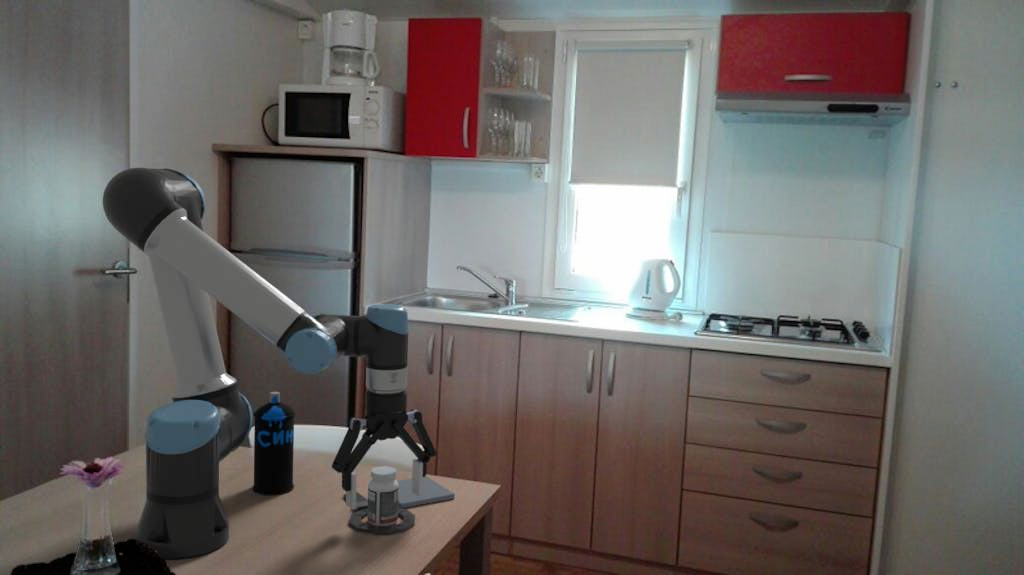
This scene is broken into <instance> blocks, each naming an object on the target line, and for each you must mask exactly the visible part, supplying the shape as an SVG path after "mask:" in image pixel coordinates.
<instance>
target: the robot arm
mask: <svg viewBox="0 0 1024 575" xmlns="http://www.w3.org/2000/svg"><path fill="white" fill-rule="evenodd" d="M102 195H103V196H102V208H103V212H104V214H105V217H106V218H107V220H108V222H109V223H110V225H111V226H112V227H113V228H114V229H115V230H116V231H117V232H118V233H120V235H122V236H123V237H124V238H126V240H128V242H130V243H132V244H133V245H134V246H136V247H137V250H138V251H140V252H142V253H143V254H145V255H146V256H147V257H148V258H149V262H150V267H151V272H152V276H153V281H154V286H155V290H156V294H157V298H158V301H159V306H160V311H161V315H162V320H163V324H164V327H165V332H166V336H167V341H168V346H169V350H170V355H171V357H172V363H173V367H174V371H175V372H174V373H175V375H176V380H177V385H176V387H175V389H174V390H173V392H172V393H171V398H172V403H165V404H163V405H160V406H159V407H157V408H155V409H154V410H152V411H151V412H150V414H149V415H148V417H147V420H146V428H145V433H144V440H145V471H146V473H145V475H146V476H145V478H146V479H145V480H146V481H145V482H146V485H145V487H146V490H145V491H146V493H145V494H146V495H145V497H146V499H145V503H144V505H143V506H144V507H143V509H142V512H141V515H140V518H139V520H138V524H137V527H136V529H135V534H134V535H135V536H134V539H135V540H137V541H140V542H142V543H145V544H147V545H148V546H149V547H151V548H153V549H154V550H156V551H157V552H158V553H159V555H160V557H161V558H160V559H163V560H165V559H166V560H167V559H168V560H169V559H170V560H173V559H174V560H175V559H176V560H177V559H187V558H192V557H193V558H194V557H197V556H202V555H205V554H208V553H212V552H213V551H214V552H215V550H218V549H220V548H221V547H223V546H224V545H225V544H226V543H227V542H228V541H229V539H230V523H229V520H228V518H227V514H226V512H225V509H224V504H223V502H222V500H221V497H220V489H219V488H220V485H219V484H220V462H222V461H223V460H224V459H225V458H227V457H228V456H229V455H230V454H231V453H233V452H235V451H236V450H237V449H238V448H240V447H241V446H242V445H243V443H244V442H245V440H246V439H247V437H248V436H249V435H250V433H251V430H252V426H253V423H254V421H253V420H254V415H253V413H254V412H253V409H252V408H253V407H252V406H251V404H250V402H249V400H248V399H247V398H246V397H245V395H243V394H242V393H240V389H239V385H238V381H237V379H236V378H235V377H234V376H231V375H230V374H228V373H227V370H226V367H225V363H224V357H223V353H222V348H221V344H220V340H219V336H218V331H217V325H216V322H215V318H214V313H213V309H212V308H213V307H212V304H211V300H210V299H211V298H210V296H211V297H212V298H213V299H214V300H216V301H217V302H219V303H220V304H221V305H223V306H224V307H225V308H226V309H228V310H229V311H230V312H232V313H233V314H234V315H235V316H237V317H238V318H239V319H241V320H242V321H244V323H246V324H247V325H248V326H250V327H251V328H252V329H254V330H255V331H256V332H258V333H259V334H260V335H261V336H262V337H264V338H265V339H266V340H268V341H269V342H270V343H272V344H273V345H274V346H276V347H277V348H278V349H280V350H281V351H282V352H283V353H284V355H285V357H286V361H287V363H288V365H289V366H290V368H291V369H292V370H294V371H295V372H297V373H299V374H302V375H315V374H318V373H320V372H322V371H324V370H326V369H327V368H329V367H331V366H332V365H333V363H334V362H335V361H337V359H339V358H340V357H356V358H357V357H359V358H362V357H365V359H366V364H365V365H366V366H365V367H366V368H365V371H366V372H365V387H366V388H367V390H366V391H365V412H366V413H365V417H364V418H355V417H353V416H352V417H350V418H349V420H348V429H347V431H346V434H345V436H344V437H343V440H342V442H341V444H340V445H339V449H338V451H337V453H336V455H335V457H334V459H333V461H332V464H331V468H332V469H333V470H334V471H336V472H337V473H338V474H340V473H341V488H342V490H343V491H344V492H345V494H346V499H345V505H346V507H349V509H351V510H355V509H356V492H357V473H356V472H354V471H355V470H356V468H357V467H358V465H359V464H360V463H361V461H362V459H363V458H364V457H365V456H366V455H367V453H368V451H369V450H370V449H371V447H372V446H373V445H375V443H377V442H378V440H379V441H381V442H382V441H385V440H389V439H391V440H394V439H397V437H398V438H400V439H401V440H402V442H403V443H404V444H405V446H407V447H408V449H409V450H410V451H411V453H413V455H414V456H415V457H416V458H413V459H412V478H411V479H412V492H413V493H414V494H416V495H417V496H422V486H423V477H425V476H427V469H428V468H427V467H428V466H427V465H428V463H429V462H430V460H431V458H434V457H436V455H437V452H436V449H435V447H434V444H433V442H432V440H431V438H430V436H429V434H428V432H427V429H426V428H425V425H424V423H423V414H422V412H421V411H419V410H417V409H415V408H413V409H411V410H410V411H408V412H407V406H408V391H407V390H406V389H405V388H407V386H408V355H409V350H408V349H409V332H410V330H409V324H408V323H409V321H408V318H409V317H408V310H407V309H406V308H405V307H404V306H401V305H398V304H373V305H370V306H368V307H367V310H366V313H365V315H363V314H362V315H343V314H342V315H341V314H325V313H319V314H309V313H308V312H307V311H306V310H304V309H303V308H302V307H301V306H299V305H298V304H297V303H296V302H295V301H293V300H292V299H291V298H289V297H288V296H287V295H286V294H284V293H283V292H281V291H280V290H279V289H278V288H276V286H274V285H273V284H271V283H270V282H269V281H267V280H266V279H265V278H263V277H262V276H261V275H260V274H259V273H257V272H256V271H255V270H253V269H252V267H251V268H250V266H248V265H247V264H245V262H243V261H242V260H241V259H239V258H238V257H237V256H235V255H234V254H233V253H231V252H230V251H229V250H228V249H226V248H225V247H224V246H222V245H221V244H220V243H219V242H218V241H217V240H215V239H213V238H212V237H211V236H210V235H209V234H207V233H206V232H205V231H204V227H203V223H202V220H203V218H204V216H205V213H206V210H207V209H206V207H207V203H206V197H205V194H204V190H203V189H202V188H201V186H200V185H199V183H198V182H197V181H196V180H195V179H194V178H193V177H191V176H190V175H187V174H186V173H184V172H182V171H179V170H175V169H171V168H168V167H167V168H147V167H131V168H127V169H123V170H122V171H120V172H118V173H116V174H114V176H113V177H111V179H109V181H108V183H107V184H106V186H105V188H104V191H103V194H102ZM408 422H410V423H411V425H412V427H413V429H414V431H415V433H416V436H417V438H418V440H419V442H420V445H421V446H422V448H421V447H420V446H419V444H417V442H416V441H415V440H414V439H413V438H412V437H411V435H410V434H409V432H408V431H407V429H406V428H404V427H405V426H406V424H407V423H408ZM364 427H365V428H366V430H365V431H364V432H363V433H362V436H361V439H360V440H359V442H358V443H357V440H358V439H359V437H360V432H361V431H362V430H363V428H364ZM356 443H357V444H356ZM355 445H356V446H355ZM135 540H134V541H135Z"/></svg>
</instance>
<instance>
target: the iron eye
mask: <svg viewBox="0 0 1024 575" xmlns="http://www.w3.org/2000/svg"><path fill="white" fill-rule="evenodd" d="M342 495H343V498H344V499H345V500H346V493H344V494H342ZM354 511H355V512H353V513H351V514H350V517H349V520H348V524H349V525H350V527H352V528H353V529H354V530H355V531H357V532H362V533H366V534H369V535H392V534H397V533H403V532H405V531H407V530H409V529H410V528H413V526H415V522H416V515H415V514H414V513H413V512H411V511H410V510H408V509H407V508H403V509H402V508H400V507H398V517H401V518H402V519H403V521H401V522H400V523H397V524H393V525H390V526H374V525H371V524H366V523H365V522H364V521H362V519H363V518H366V517H367V512H368V498H366V497H365V496H363V495H362V494H361V493H359V492H358V491H356V509H354Z"/></svg>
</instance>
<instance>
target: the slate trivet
mask: <svg viewBox="0 0 1024 575" xmlns="http://www.w3.org/2000/svg"><path fill="white" fill-rule="evenodd" d="M396 481H397V482H398V484H399V498H398V506H399V507H398V508H403V509H407V507H408V508H413V507H417V506H416V505H418V506H421V505H420V504H423V505H427V504H426V503H429V504H434V503H439V502H444V501H448V500H454V498H455V497H456V494H455V493H454V492H453V491H451V490H449V489H448V488H446V487H445V486H443V485H441V484H440V483H438V482H437V481H435V480H433V479H432V478H430V477H428V476H427V475H426V476H425V477H423V486H422V496H417V495H416V494H414V493H413V492H412V478H408V479H402V480H401V479H400V480H396ZM438 501H439V502H438ZM433 502H434V503H433ZM412 506H413V507H412Z"/></svg>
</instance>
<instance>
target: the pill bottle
mask: <svg viewBox="0 0 1024 575" xmlns="http://www.w3.org/2000/svg"><path fill="white" fill-rule="evenodd" d="M370 477H371V481H369V482H368V484H367V500H368V512H367V516H366V517H367V522H368V523H369V525H371V526H375V527H388V526H393V525H396V523H397V522H398V521H399V520H398V519H399V515H398V508H399V507H398V498H399V484H398V482H397V481H398V480H396V478H397V469H396V467H391V466H384V465H383V466H382V465H381V466H375V467H373V468H372V469H371V470H370Z"/></svg>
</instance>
